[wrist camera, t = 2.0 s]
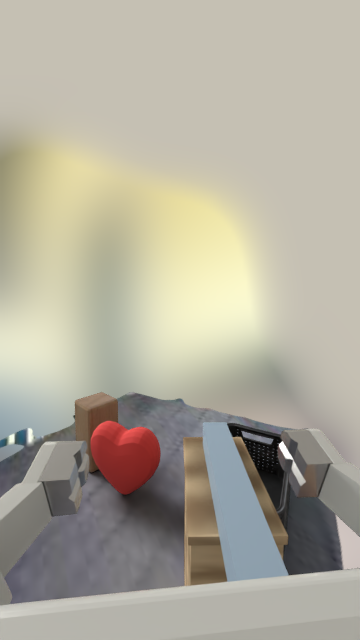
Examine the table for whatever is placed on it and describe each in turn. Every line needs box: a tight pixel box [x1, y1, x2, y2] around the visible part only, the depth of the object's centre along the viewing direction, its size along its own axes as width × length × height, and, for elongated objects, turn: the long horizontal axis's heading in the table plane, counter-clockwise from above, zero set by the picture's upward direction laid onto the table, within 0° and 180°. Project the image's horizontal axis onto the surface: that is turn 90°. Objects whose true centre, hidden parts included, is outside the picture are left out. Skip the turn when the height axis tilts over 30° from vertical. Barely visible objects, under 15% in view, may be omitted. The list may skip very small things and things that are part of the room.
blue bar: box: [203, 422, 288, 582], centre depth 28 cm, size 26×4×4 cm, turn 1°
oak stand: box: [183, 437, 288, 586], centre depth 35 cm, size 19×11×26 cm, turn 1°
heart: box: [91, 421, 160, 495], centre depth 63 cm, size 20×9×19 cm, turn 70°
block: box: [75, 392, 118, 472], centre depth 76 cm, size 10×10×20 cm
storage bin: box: [227, 423, 290, 557], centre depth 59 cm, size 29×19×13 cm
